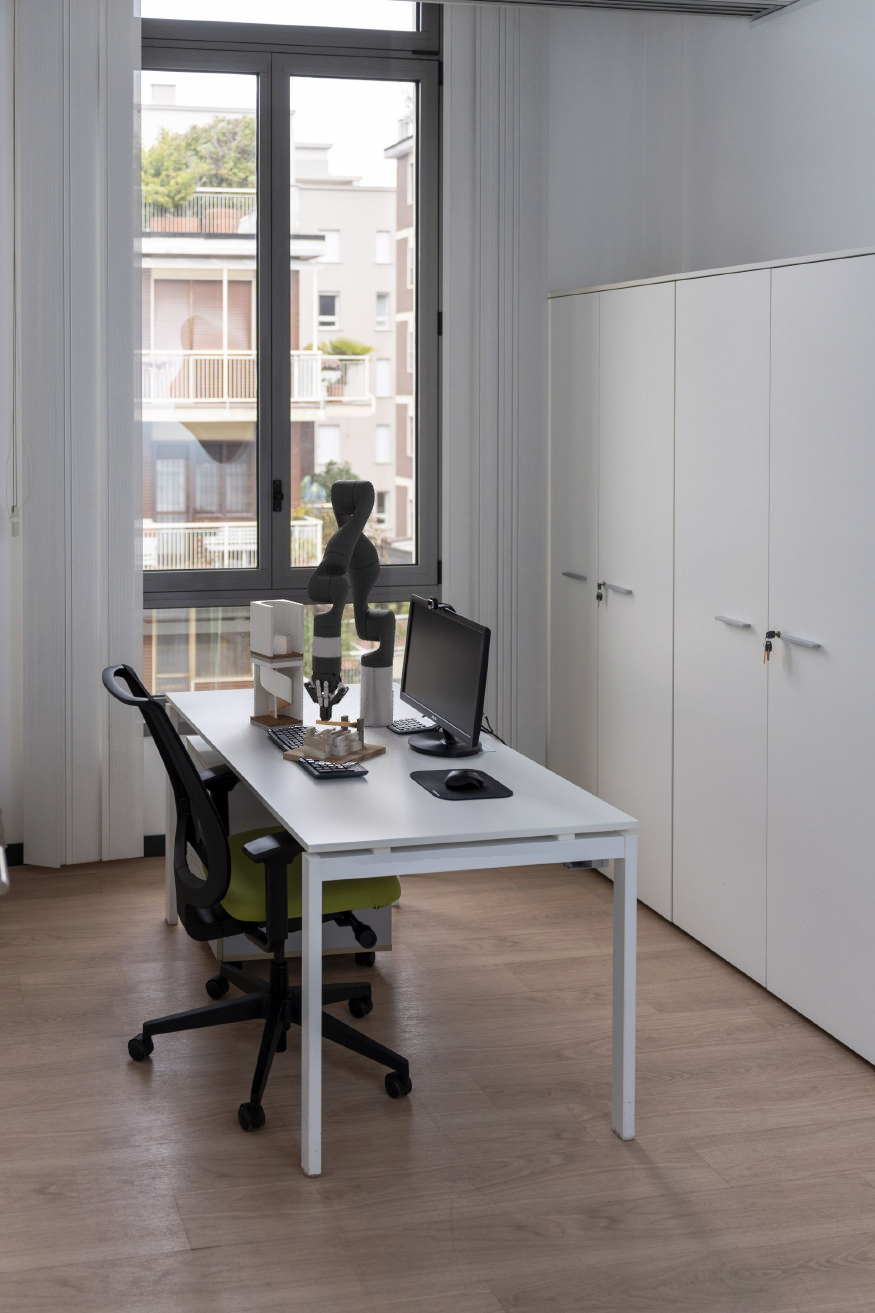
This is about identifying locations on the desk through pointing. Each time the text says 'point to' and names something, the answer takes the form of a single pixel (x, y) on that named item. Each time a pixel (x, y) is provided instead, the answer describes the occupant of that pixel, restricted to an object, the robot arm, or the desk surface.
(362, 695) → the robot arm
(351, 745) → the wooden jig fixture
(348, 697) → the desk surface
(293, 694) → the display case
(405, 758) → the desk surface
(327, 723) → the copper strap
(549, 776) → the desk surface
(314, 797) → the desk surface
